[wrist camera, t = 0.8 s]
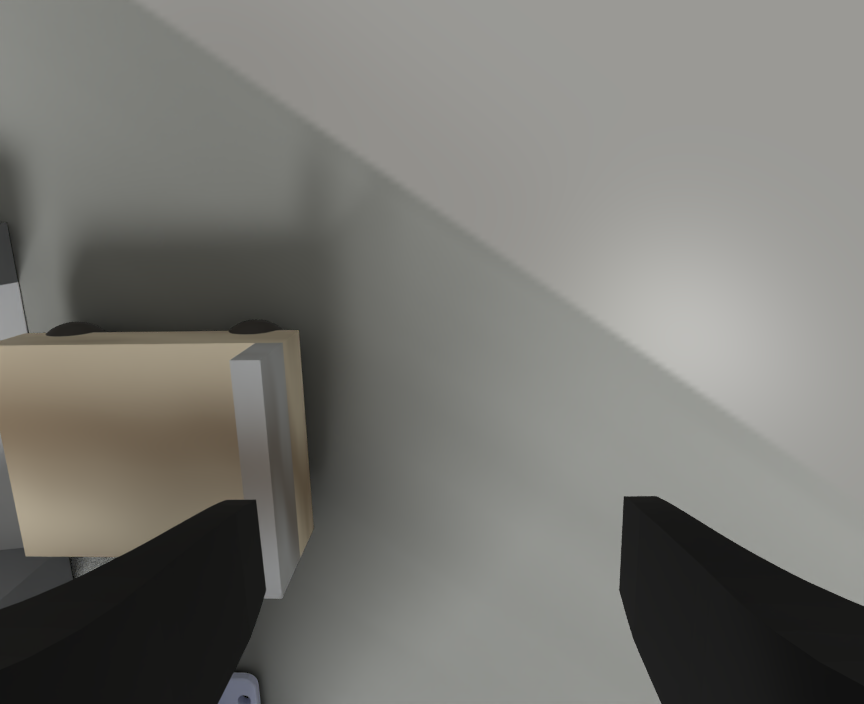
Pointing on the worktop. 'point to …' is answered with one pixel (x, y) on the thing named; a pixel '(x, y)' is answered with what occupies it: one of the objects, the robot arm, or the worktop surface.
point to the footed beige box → (155, 437)
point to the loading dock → (3, 547)
